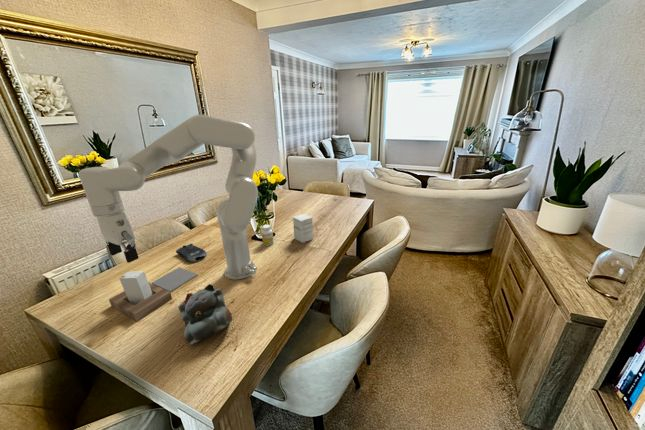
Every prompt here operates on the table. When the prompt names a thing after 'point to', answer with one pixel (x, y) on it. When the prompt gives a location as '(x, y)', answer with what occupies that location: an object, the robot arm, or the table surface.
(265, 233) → the supplement bottle
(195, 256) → the electronic device
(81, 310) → the table surface
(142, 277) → the skincare box
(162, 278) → the grey rubber mat
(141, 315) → the walnut socket block
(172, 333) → the table surface
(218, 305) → the lucky cat figurine
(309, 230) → the supplement box
